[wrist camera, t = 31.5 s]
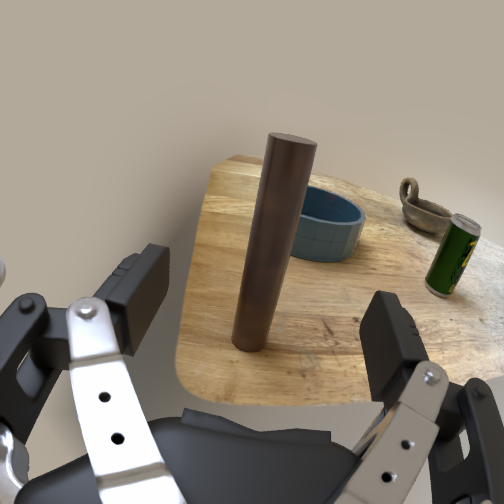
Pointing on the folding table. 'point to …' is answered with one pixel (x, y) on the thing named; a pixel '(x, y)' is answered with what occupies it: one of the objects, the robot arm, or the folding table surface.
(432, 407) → the robot arm
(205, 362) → the folding table surface
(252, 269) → the brown wooden rod
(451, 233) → the beer can
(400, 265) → the folding table surface
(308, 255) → the mixing bowl
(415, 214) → the bowl
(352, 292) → the folding table surface
